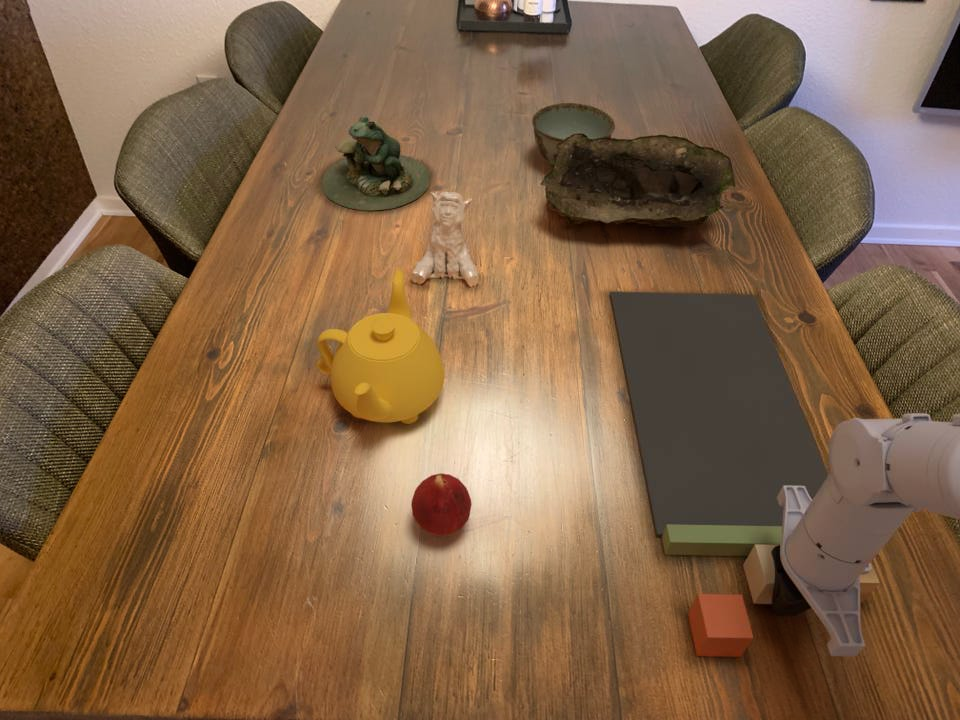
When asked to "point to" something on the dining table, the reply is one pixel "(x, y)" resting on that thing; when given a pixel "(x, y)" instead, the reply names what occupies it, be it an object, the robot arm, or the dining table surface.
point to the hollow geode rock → (637, 180)
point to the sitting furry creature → (447, 243)
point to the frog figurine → (374, 171)
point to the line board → (712, 420)
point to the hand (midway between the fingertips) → (784, 609)
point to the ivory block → (760, 573)
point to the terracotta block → (720, 625)
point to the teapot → (384, 364)
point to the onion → (441, 504)
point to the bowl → (568, 126)
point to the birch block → (868, 584)
